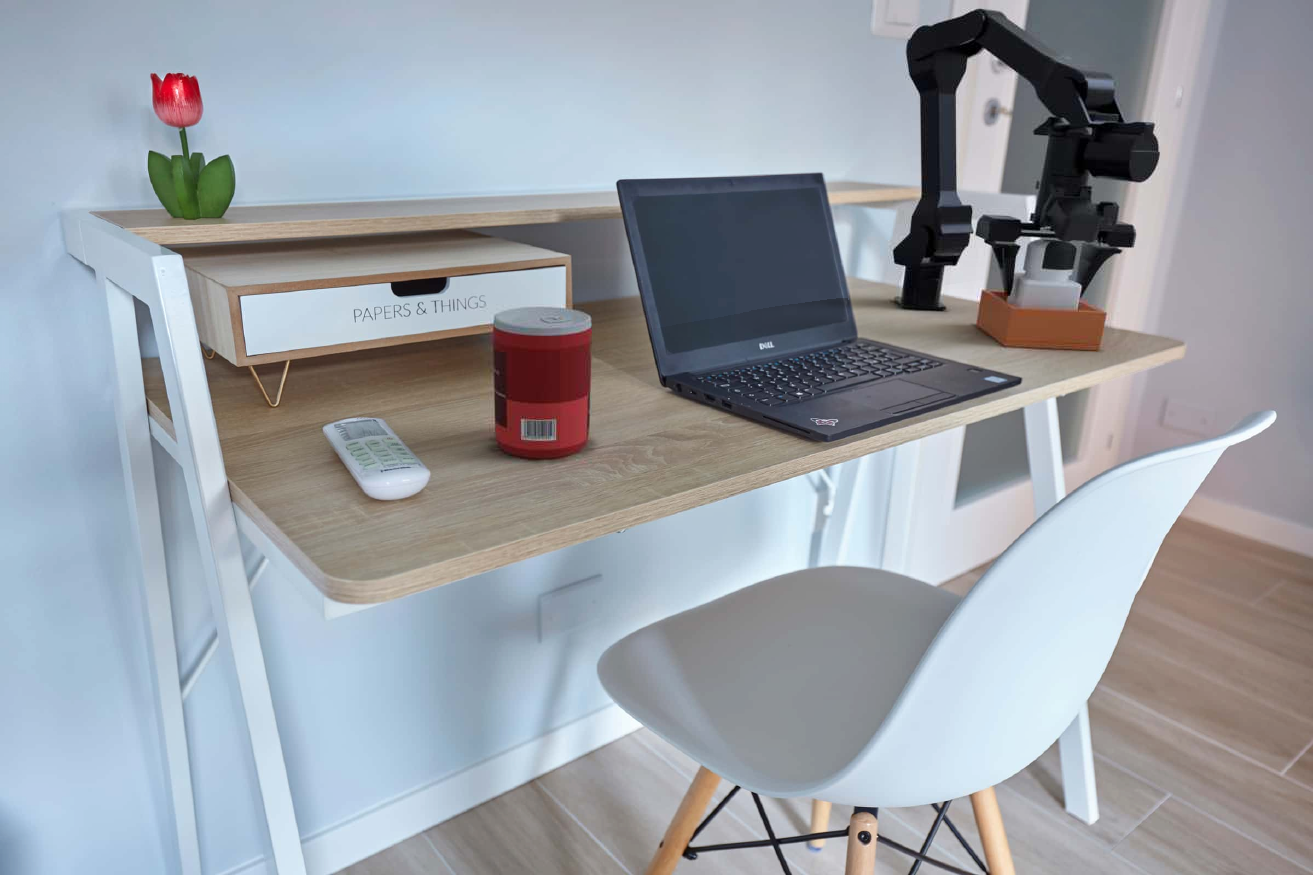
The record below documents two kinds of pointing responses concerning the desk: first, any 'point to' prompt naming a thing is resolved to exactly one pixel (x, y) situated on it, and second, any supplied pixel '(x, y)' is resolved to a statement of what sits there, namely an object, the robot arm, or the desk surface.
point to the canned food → (542, 381)
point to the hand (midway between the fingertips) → (1042, 297)
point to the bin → (1040, 324)
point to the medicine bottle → (1046, 277)
